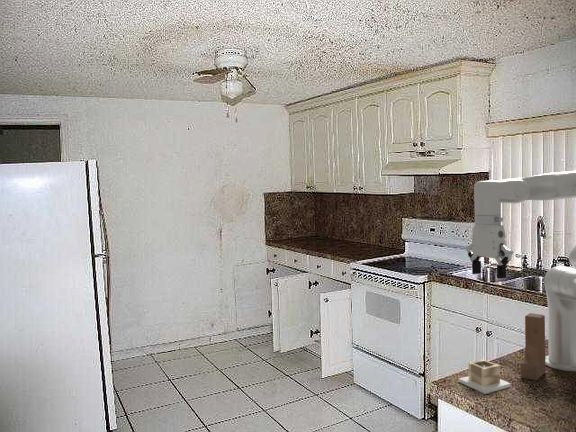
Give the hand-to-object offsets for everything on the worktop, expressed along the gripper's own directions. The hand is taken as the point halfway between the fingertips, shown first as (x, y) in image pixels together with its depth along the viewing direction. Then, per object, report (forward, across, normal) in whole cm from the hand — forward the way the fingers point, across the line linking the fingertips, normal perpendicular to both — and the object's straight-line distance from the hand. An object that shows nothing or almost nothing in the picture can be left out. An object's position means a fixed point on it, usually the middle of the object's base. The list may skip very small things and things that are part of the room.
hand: (488, 275), depth 149 cm
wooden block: (+31, -8, -9) cm, 33 cm away
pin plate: (+30, -6, +9) cm, 32 cm away
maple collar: (+29, -6, +9) cm, 31 cm away
